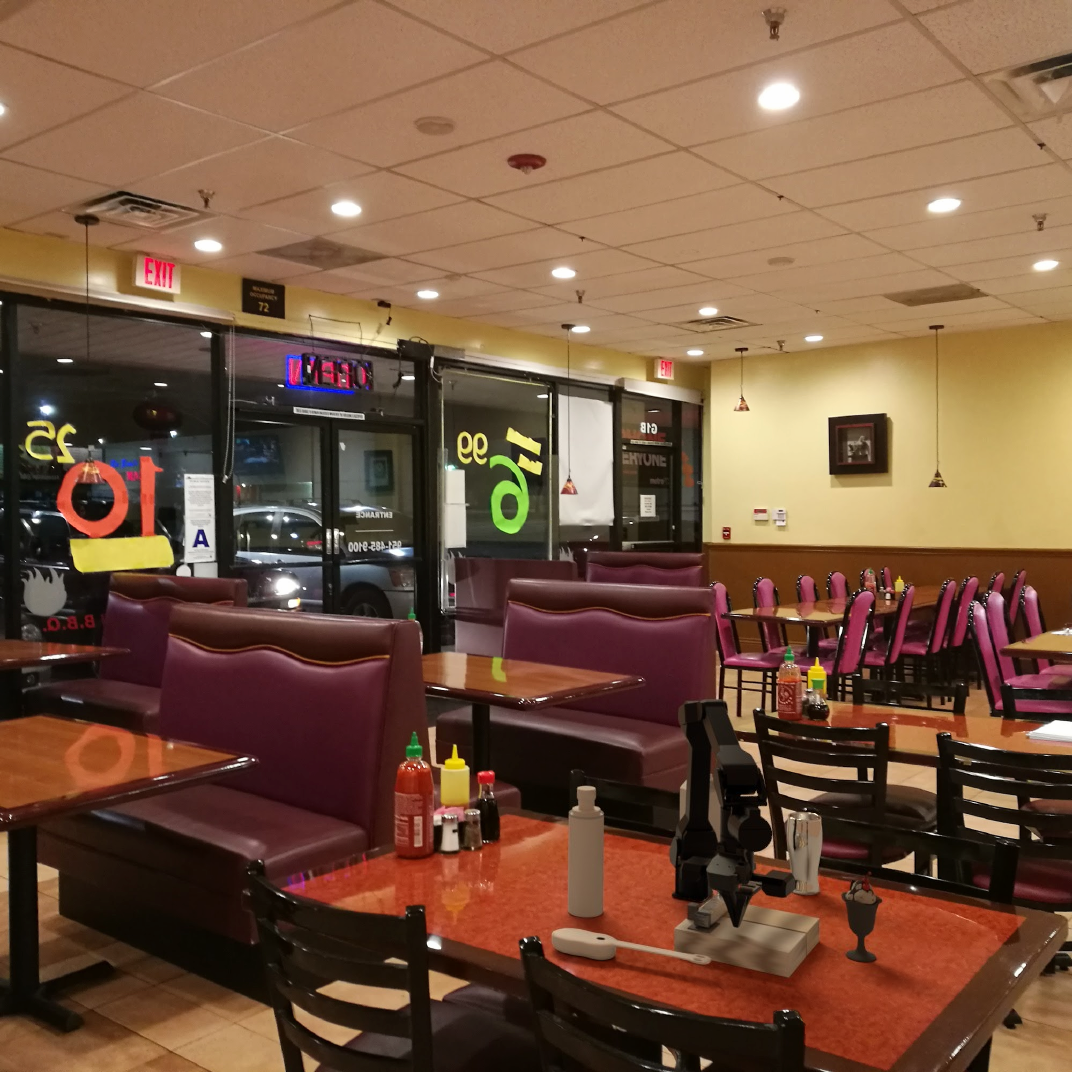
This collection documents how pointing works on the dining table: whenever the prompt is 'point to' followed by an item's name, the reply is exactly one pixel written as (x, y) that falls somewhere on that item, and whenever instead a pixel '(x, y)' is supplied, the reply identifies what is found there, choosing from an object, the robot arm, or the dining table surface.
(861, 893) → the sundae
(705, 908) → the latch bar
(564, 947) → the handheld milk frother
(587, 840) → the spray bottle
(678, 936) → the wooden case with bar
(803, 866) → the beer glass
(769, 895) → the robot arm
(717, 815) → the milk carton
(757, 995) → the dining table surface
